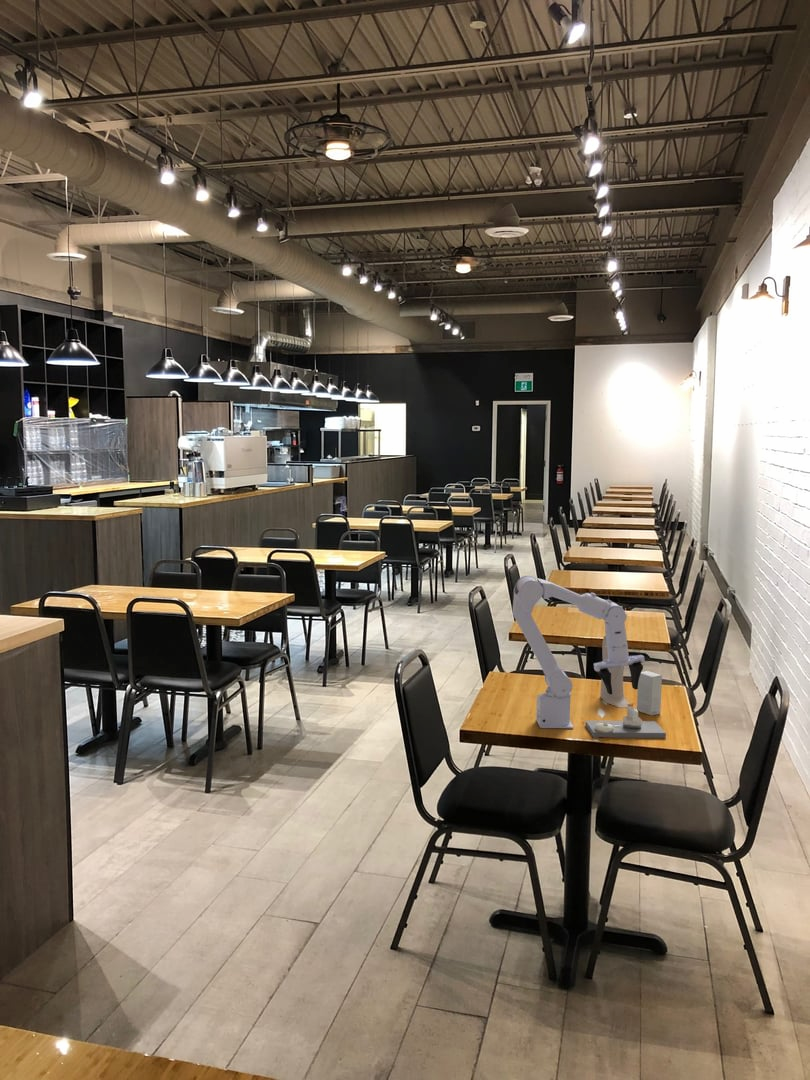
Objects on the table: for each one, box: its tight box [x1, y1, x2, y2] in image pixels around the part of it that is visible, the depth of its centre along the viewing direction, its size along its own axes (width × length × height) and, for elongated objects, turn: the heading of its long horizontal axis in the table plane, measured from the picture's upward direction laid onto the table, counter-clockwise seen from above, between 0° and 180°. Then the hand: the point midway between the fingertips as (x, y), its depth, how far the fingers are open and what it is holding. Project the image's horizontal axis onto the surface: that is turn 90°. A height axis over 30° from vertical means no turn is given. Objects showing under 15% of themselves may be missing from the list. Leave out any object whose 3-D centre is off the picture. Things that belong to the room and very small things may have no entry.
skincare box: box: [636, 670, 663, 716], centre depth 256 cm, size 6×4×12 cm
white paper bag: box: [599, 635, 630, 709], centre depth 266 cm, size 7×14×20 cm, turn 9°
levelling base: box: [584, 720, 667, 739], centre depth 238 cm, size 20×10×3 cm, turn 90°
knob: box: [622, 702, 643, 729], centre depth 238 cm, size 6×5×6 cm
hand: (622, 690), depth 243 cm, fingers open, 7 cm apart
